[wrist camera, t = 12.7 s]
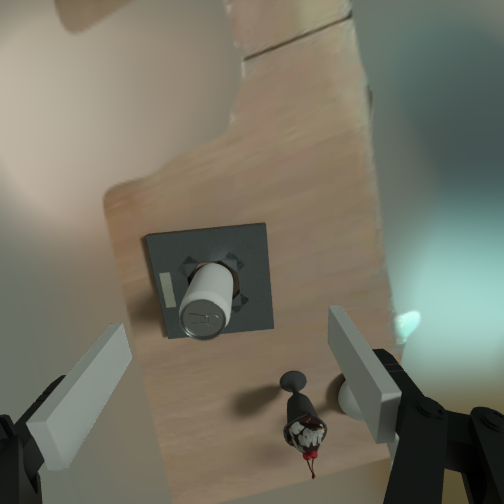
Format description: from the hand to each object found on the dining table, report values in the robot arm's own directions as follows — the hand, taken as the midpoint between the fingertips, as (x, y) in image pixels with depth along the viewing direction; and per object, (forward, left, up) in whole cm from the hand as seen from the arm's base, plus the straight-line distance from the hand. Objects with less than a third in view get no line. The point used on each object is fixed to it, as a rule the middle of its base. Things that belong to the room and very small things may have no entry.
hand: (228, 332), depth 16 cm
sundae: (+29, +7, -25) cm, 39 cm away
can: (+7, -5, -25) cm, 26 cm away
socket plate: (+7, -5, -25) cm, 26 cm away
